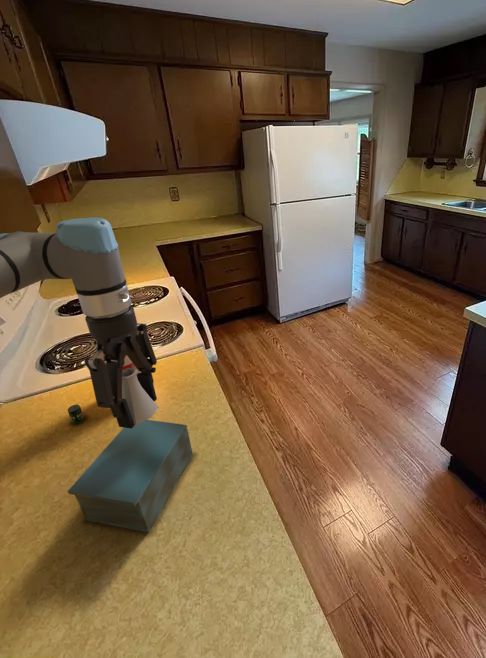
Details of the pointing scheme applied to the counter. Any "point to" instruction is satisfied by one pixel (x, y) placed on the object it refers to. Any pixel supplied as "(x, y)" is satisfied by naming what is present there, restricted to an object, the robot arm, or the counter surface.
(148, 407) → the flask
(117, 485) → the lid
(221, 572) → the counter surface
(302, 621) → the counter surface
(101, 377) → the robot arm
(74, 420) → the beer can
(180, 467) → the chest
